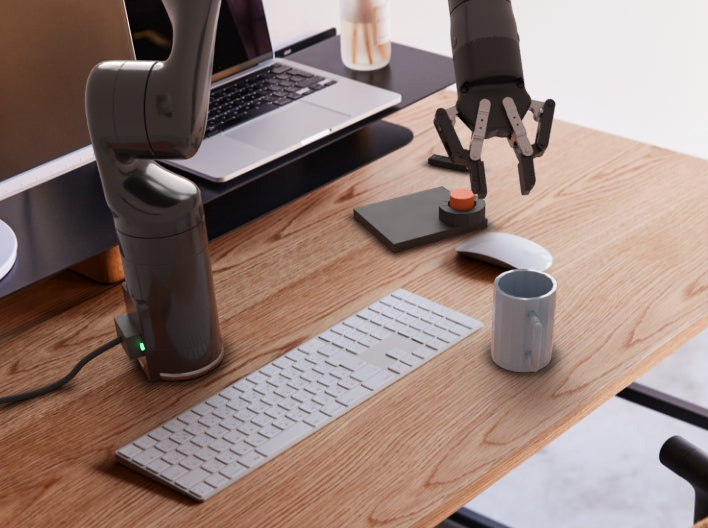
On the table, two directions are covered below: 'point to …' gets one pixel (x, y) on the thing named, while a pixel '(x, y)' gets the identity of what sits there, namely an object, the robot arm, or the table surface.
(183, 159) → the robot arm
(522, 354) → the mug
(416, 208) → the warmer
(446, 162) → the usb flash drive
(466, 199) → the warmer button
